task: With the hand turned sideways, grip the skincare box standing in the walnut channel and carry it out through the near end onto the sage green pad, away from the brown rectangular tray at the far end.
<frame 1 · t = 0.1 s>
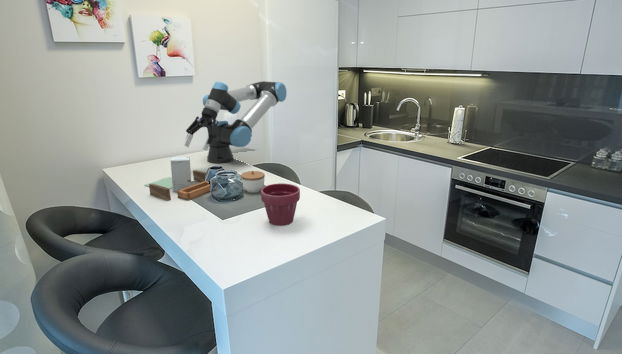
hand: (195, 147, 174), 15 cm above the countertop, tool tilted 35°, fingers open, 13 cm apart
skincare box: (183, 189, 162), on the countertop
lidded jar: (253, 190, 162), on the countertop
brown rectangular tray: (197, 193, 157), on the countertop
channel: (183, 189, 162), on the countertop
plant pot: (281, 221, 131), on the countertop
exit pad: (166, 184, 168), on the countertop
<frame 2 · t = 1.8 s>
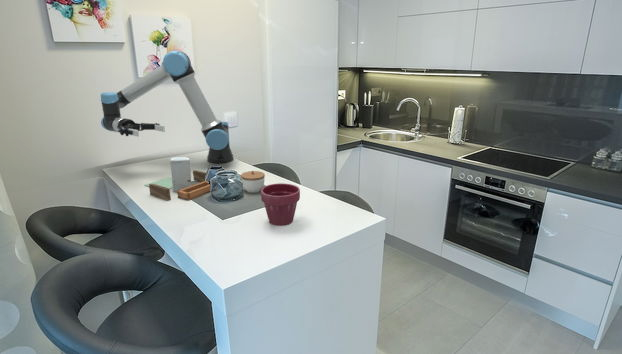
hand: (151, 131, 163), 25 cm above the countertop, tool horizontal, fingers open, 13 cm apart
nothing on the countertop moved.
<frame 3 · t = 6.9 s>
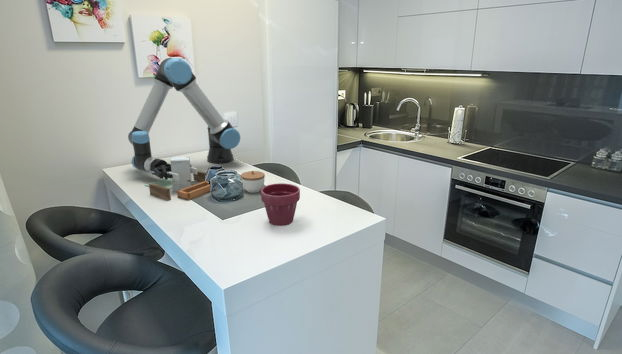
hand: (187, 174, 157), 8 cm above the countertop, tool horizontal, fingers closed on skincare box, 9 cm apart
skincare box: (183, 189, 162), on the countertop, touching gripper
everything else where it was.
when the fingers open (9 cm above the countertop, at t = 12.6 s): skincare box drops 1 cm, resting on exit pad.
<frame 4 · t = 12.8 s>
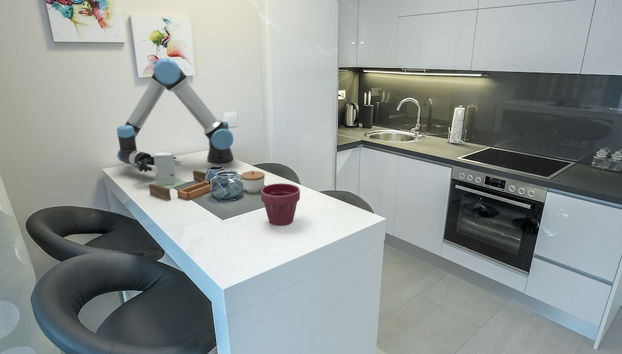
hand: (169, 166, 163), 9 cm above the countertop, tool horizontal, fingers open, 12 cm apart
skincare box: (166, 183, 168), resting on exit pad
everything else where it was.
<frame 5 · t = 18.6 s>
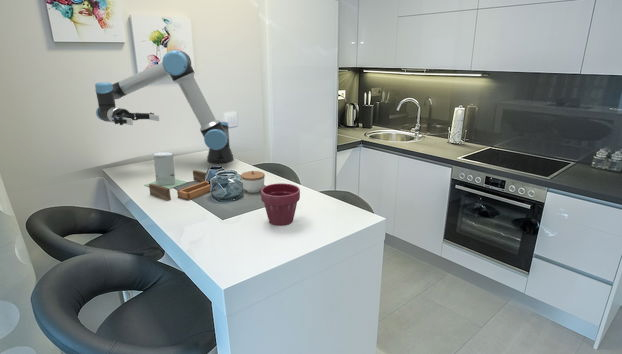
hand: (145, 120, 163), 30 cm above the countertop, tool horizontal, fingers open, 13 cm apart
nothing on the countertop moved.
at the end: skincare box inside the target area (0.2 cm from its centre), resting on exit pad; skincare box tilted 0°; the gripper is holding nothing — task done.
